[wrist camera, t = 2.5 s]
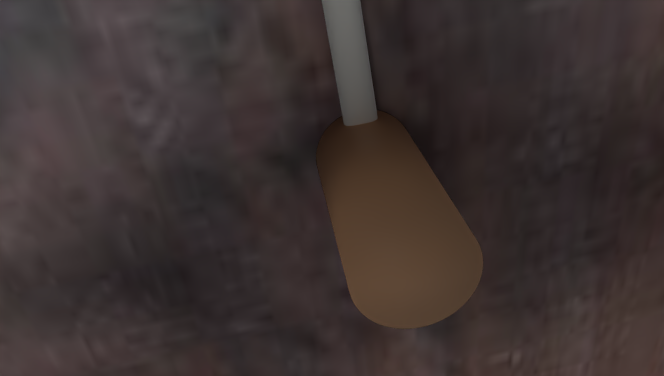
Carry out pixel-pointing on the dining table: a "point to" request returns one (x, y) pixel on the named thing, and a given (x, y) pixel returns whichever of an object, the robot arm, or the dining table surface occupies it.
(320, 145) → the tethered block
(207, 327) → the dining table surface
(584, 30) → the dining table surface
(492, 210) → the dining table surface
